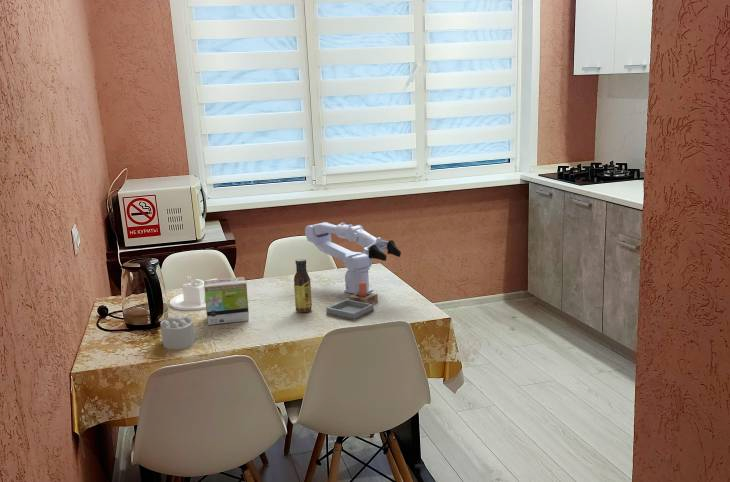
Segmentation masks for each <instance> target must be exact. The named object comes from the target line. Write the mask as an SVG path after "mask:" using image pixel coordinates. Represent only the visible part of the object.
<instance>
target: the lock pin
mask: <svg viewBox="0 0 730 482" xmlns="http://www.w3.org/2000/svg"><path fill="white" fill-rule="evenodd" d="M359 297H367V286H366V282H359Z"/></svg>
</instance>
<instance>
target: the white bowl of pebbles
mask: <svg viewBox="0 0 730 482" xmlns="http://www.w3.org/2000/svg"><path fill="white" fill-rule="evenodd" d="M159 324H160V330H161V339H162V345H163V347H164V348H165V349H167V350H168V349H169V350H172V351H173V350H179V351H180V350H185V349H187V348H190V347H192V346H193V345H195V343H196V335H195V324H194V321H193V319H192V317H191V316H188V315H185V316H184V315H183V314H179V315H178V314H177V315H173V316H167V317H166V318H165V319H162V320H161V321H160V323H159Z"/></svg>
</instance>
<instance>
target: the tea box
mask: <svg viewBox="0 0 730 482" xmlns="http://www.w3.org/2000/svg"><path fill="white" fill-rule="evenodd" d="M203 281H204V288H205V300H206V309H205V310H206V319H207V325H208V326H212V325H218V324H229V323H239V322H240V323H241V322H248V321H250V315H249V300H248V299H249V298H248V284H247V281H246V279H245V276H241V277H239V276H238V277H231V278H229V277H228V278H220V279H219V278H217V280H210V279H207V281H205V280H203Z"/></svg>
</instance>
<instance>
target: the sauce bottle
mask: <svg viewBox="0 0 730 482" xmlns="http://www.w3.org/2000/svg"><path fill="white" fill-rule="evenodd" d="M295 265H296V266H295V268H296V269H295V271H296V272H295V274H294V277H293V282H294V283H293V289H294V304H295V305H294V306H295V311H296V312H297V313H308V312H310V311H312V307H313V306H312V305H313V303H312V285H311V278H310V276H309V273H308V270H307V259H306V258H297V259H295Z"/></svg>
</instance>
